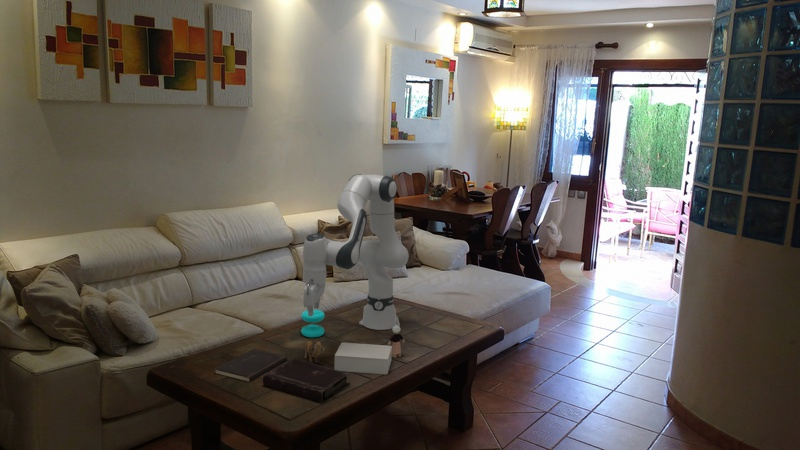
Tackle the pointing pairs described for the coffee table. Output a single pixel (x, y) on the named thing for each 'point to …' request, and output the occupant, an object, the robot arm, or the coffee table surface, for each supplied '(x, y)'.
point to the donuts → (313, 329)
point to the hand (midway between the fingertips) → (313, 311)
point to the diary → (306, 379)
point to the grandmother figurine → (396, 341)
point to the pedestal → (363, 358)
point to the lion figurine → (313, 350)
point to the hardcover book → (251, 365)
